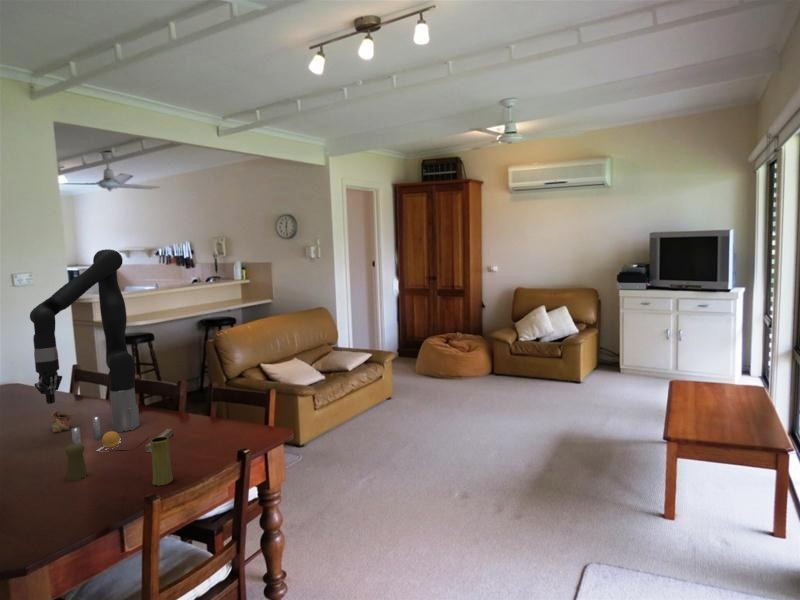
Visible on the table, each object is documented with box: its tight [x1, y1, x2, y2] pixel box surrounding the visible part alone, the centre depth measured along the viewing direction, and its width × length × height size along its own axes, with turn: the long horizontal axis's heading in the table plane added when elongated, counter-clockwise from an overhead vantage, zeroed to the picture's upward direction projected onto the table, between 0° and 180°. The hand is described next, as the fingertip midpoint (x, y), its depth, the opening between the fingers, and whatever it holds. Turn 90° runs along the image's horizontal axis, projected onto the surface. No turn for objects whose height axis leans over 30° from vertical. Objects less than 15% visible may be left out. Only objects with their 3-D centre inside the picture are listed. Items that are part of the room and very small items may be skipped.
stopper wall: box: [144, 428, 173, 453], centre depth 204 cm, size 2×18×2 cm, turn 179°
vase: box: [150, 436, 174, 487], centre depth 169 cm, size 6×6×14 cm
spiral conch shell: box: [50, 410, 75, 433], centre depth 222 cm, size 9×10×10 cm
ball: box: [101, 430, 120, 447], centre depth 201 cm, size 6×6×6 cm
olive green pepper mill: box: [65, 443, 89, 482], centre depth 175 cm, size 6×6×11 cm
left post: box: [70, 426, 82, 445], centre depth 197 cm, size 3×3×9 cm
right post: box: [91, 415, 103, 441], centre depth 210 cm, size 3×3×9 cm
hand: (51, 403), depth 203 cm, fingers closed
